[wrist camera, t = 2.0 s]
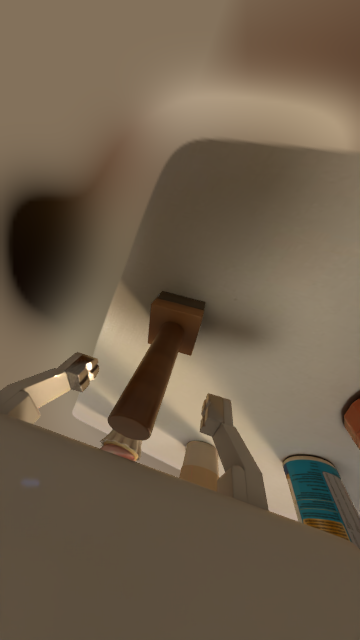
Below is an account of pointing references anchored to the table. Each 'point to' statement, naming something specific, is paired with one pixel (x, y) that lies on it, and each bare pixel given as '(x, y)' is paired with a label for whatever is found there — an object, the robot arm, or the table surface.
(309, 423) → the table surface
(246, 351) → the table surface
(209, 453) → the coffee cup
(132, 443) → the cupcake
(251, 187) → the table surface
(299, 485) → the beverage bottle
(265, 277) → the table surface
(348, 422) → the bowl
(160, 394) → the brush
